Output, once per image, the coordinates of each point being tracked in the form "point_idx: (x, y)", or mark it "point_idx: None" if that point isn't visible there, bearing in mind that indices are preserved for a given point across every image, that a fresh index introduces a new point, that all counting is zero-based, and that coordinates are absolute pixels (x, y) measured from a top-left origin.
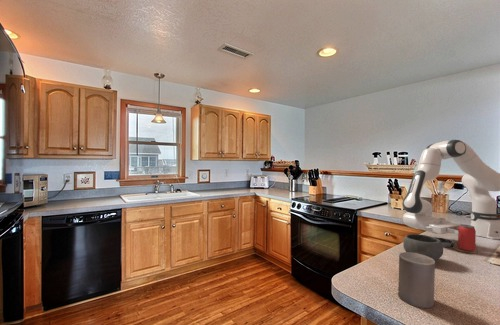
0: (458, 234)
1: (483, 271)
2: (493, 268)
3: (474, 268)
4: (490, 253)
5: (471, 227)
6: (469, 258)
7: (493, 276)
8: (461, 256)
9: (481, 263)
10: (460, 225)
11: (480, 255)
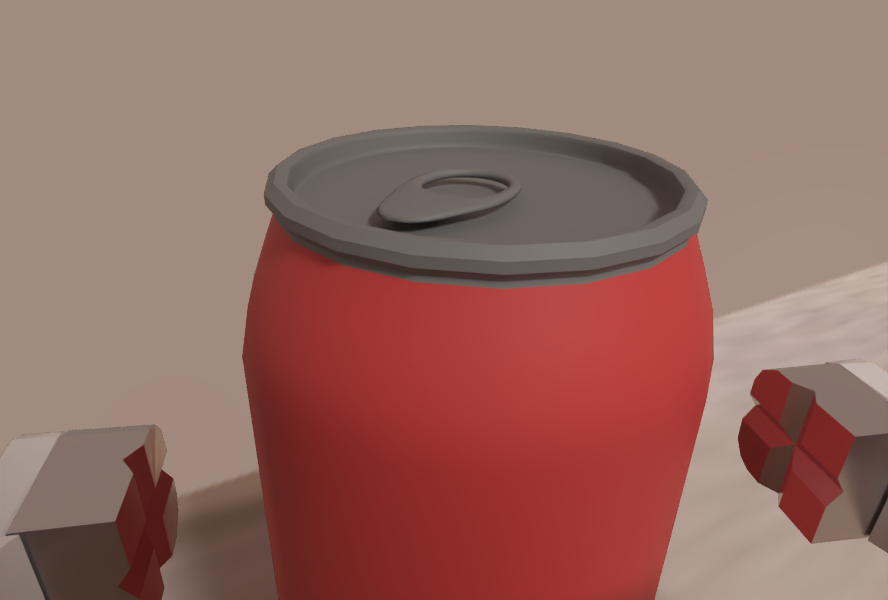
0: (646, 581)
1: (840, 326)
2: None
3: (885, 359)
4: (180, 537)
5: (530, 133)
6: (739, 492)
7: (822, 290)
8: (813, 559)
9: (711, 395)
10: (703, 213)
11: None
